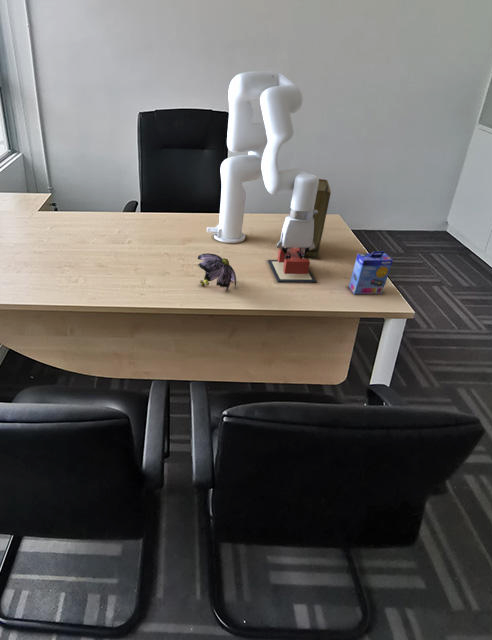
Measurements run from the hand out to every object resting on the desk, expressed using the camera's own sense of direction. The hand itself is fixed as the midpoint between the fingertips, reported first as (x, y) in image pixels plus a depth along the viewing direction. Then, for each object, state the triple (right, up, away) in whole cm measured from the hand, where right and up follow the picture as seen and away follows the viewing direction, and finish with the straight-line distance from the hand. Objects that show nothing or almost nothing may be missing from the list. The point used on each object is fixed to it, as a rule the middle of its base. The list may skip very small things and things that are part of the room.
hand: (292, 264), depth 171 cm
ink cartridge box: (+21, -11, -11) cm, 26 cm away
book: (+11, +8, +17) cm, 22 cm away
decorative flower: (-28, -9, -8) cm, 31 cm away
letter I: (0, -1, 0) cm, 1 cm away
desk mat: (0, -2, +1) cm, 3 cm away
